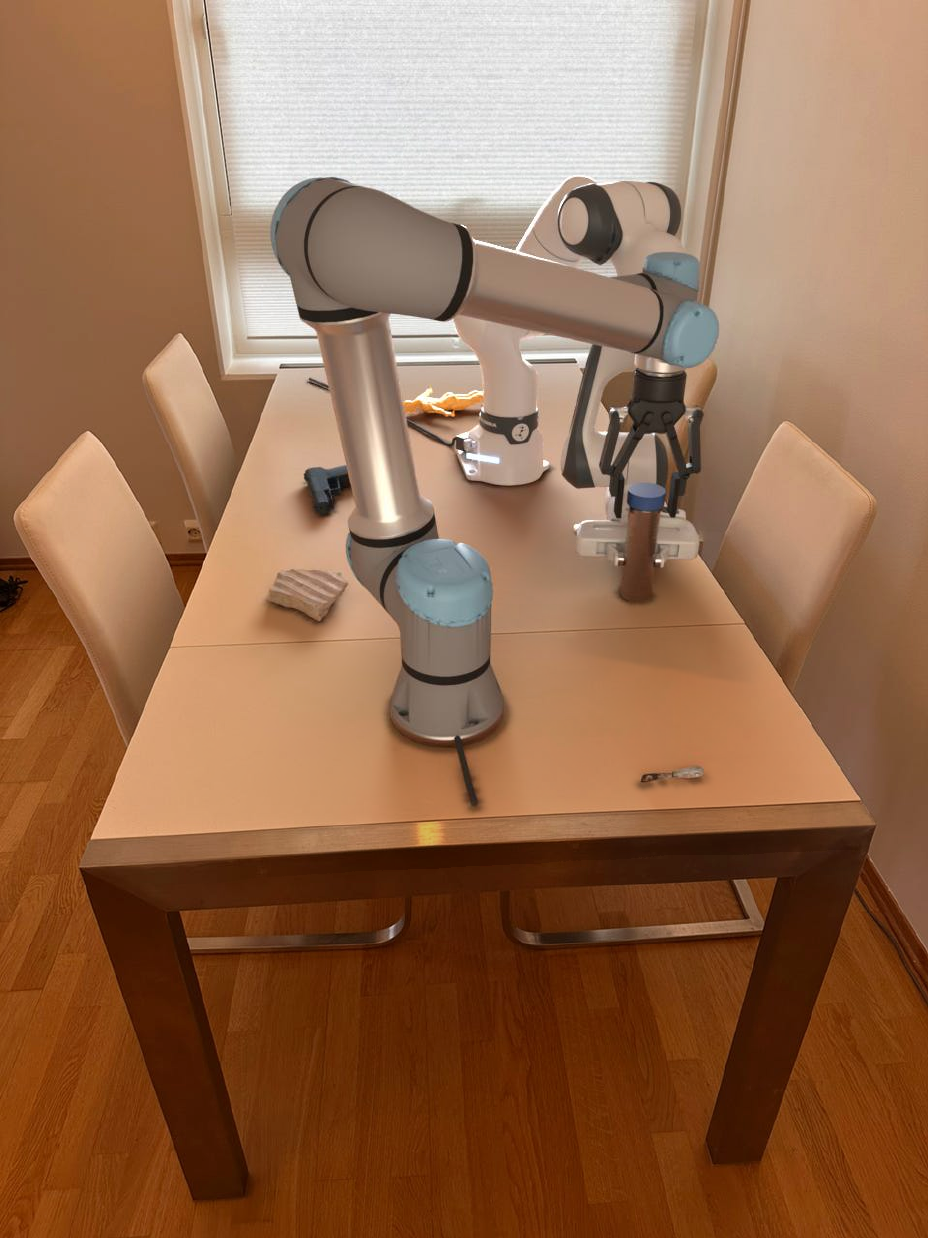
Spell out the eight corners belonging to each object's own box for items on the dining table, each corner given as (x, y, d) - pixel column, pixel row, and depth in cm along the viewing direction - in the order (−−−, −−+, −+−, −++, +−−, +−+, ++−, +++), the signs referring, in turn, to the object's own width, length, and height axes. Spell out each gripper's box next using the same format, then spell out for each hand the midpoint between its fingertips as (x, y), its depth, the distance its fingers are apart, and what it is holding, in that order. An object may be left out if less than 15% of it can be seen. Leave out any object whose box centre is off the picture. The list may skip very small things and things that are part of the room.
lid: (632, 511, 136) (634, 498, 135) (622, 496, 141) (623, 483, 140) (669, 509, 137) (671, 496, 135) (657, 494, 141) (659, 481, 140)
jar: (622, 585, 150) (632, 485, 141) (652, 589, 149) (664, 489, 139) (617, 599, 146) (627, 498, 136) (648, 604, 145) (660, 502, 135)
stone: (357, 587, 149) (356, 574, 148) (321, 622, 140) (319, 608, 139) (291, 573, 154) (290, 560, 152) (252, 607, 144) (250, 593, 143)
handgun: (374, 509, 176) (313, 517, 173) (359, 474, 190) (302, 481, 188) (373, 494, 174) (311, 502, 172) (358, 460, 188) (301, 466, 186)
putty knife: (703, 777, 109) (705, 767, 109) (642, 788, 108) (644, 777, 107) (700, 772, 110) (702, 762, 109) (639, 782, 109) (640, 771, 108)
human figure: (395, 413, 223) (394, 398, 221) (438, 390, 237) (438, 375, 235) (462, 429, 215) (462, 413, 213) (502, 404, 229) (503, 388, 227)
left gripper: (592, 377, 124) (581, 525, 136) (739, 376, 125) (715, 524, 137) (585, 362, 131) (575, 505, 143) (725, 361, 131) (703, 503, 143)
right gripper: (574, 506, 154) (575, 543, 142) (694, 510, 153) (706, 547, 141) (572, 539, 157) (573, 577, 146) (689, 543, 156) (700, 582, 144)
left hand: (644, 514), depth 140 cm, fingers open, 8 cm apart
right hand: (639, 563), depth 143 cm, fingers closed on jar, 5 cm apart
